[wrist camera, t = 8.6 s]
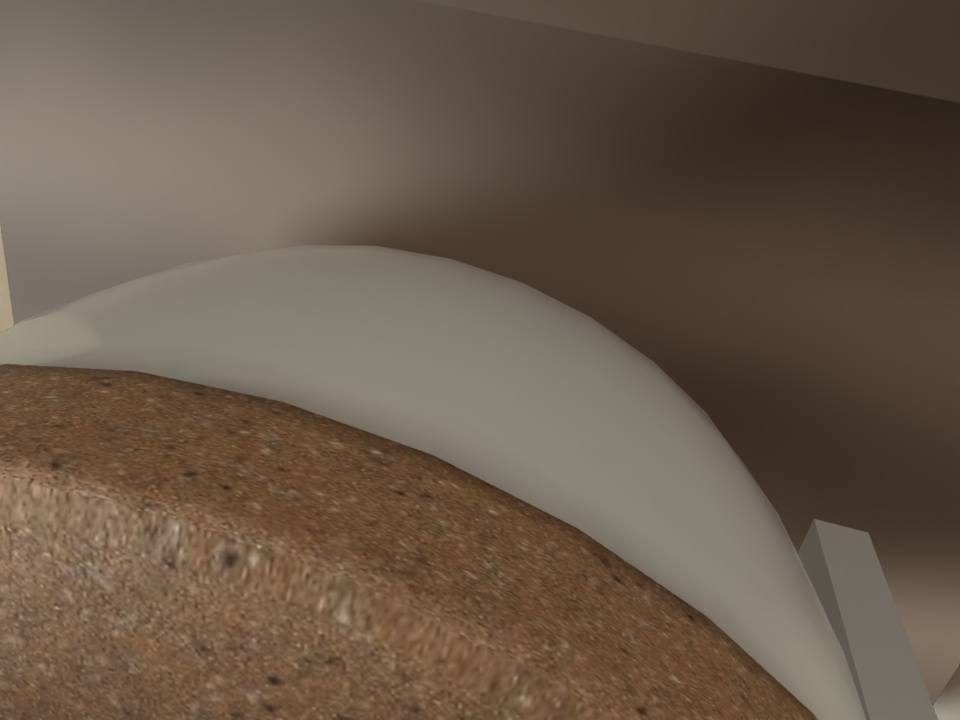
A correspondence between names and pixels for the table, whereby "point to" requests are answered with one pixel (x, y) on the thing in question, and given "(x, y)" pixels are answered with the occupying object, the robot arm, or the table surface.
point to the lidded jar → (380, 510)
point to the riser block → (560, 200)
